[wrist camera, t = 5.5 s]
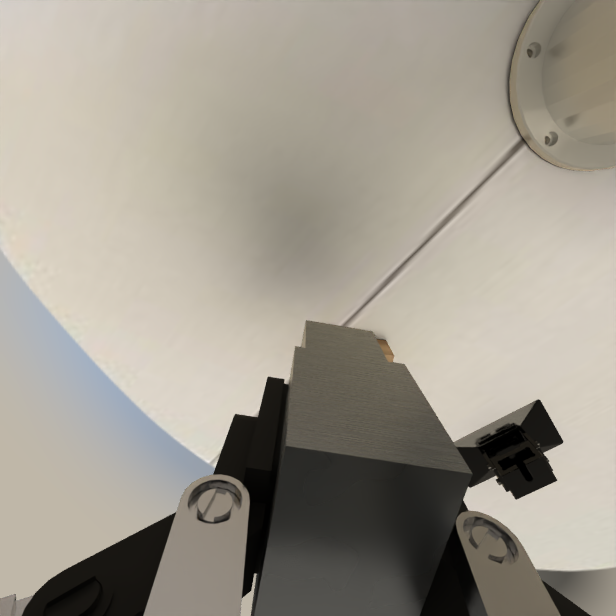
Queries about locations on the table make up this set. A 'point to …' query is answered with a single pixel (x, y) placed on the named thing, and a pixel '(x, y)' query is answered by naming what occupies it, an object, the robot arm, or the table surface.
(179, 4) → the table surface
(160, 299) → the table surface
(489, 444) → the black stepped block
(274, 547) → the clip
